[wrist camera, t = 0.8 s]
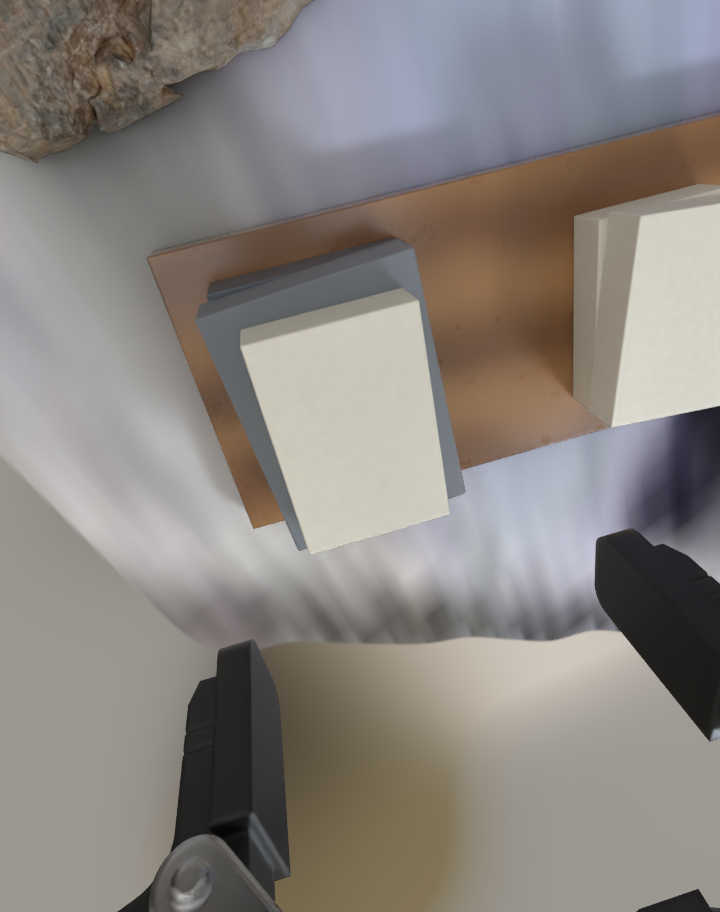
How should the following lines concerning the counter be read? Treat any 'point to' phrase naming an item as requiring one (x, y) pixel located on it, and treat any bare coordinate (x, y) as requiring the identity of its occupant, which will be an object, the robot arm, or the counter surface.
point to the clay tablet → (114, 60)
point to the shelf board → (458, 284)
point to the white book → (351, 417)
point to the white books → (648, 306)
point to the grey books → (301, 293)
